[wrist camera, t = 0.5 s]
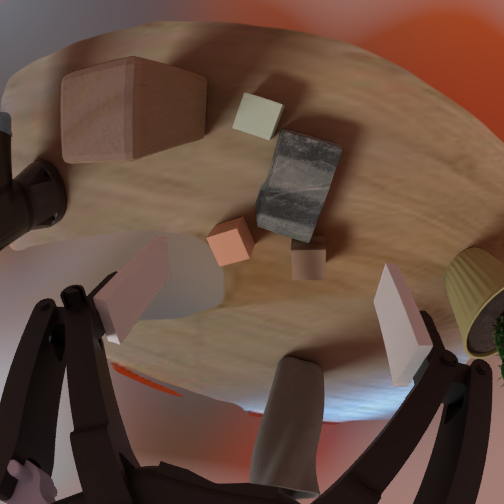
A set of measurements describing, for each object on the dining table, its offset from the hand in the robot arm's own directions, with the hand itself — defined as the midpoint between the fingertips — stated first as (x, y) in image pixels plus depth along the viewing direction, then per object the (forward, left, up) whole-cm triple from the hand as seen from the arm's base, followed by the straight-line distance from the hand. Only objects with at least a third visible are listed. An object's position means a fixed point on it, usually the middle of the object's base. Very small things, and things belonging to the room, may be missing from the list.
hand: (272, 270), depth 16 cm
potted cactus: (+36, -12, -27) cm, 47 cm away
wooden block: (-18, +9, -27) cm, 34 cm away
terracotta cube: (-8, -11, -27) cm, 30 cm away
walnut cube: (+4, -12, -27) cm, 30 cm away
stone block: (0, -1, -27) cm, 27 cm away
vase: (+7, -41, -27) cm, 50 cm away
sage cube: (-5, +8, -27) cm, 29 cm away
